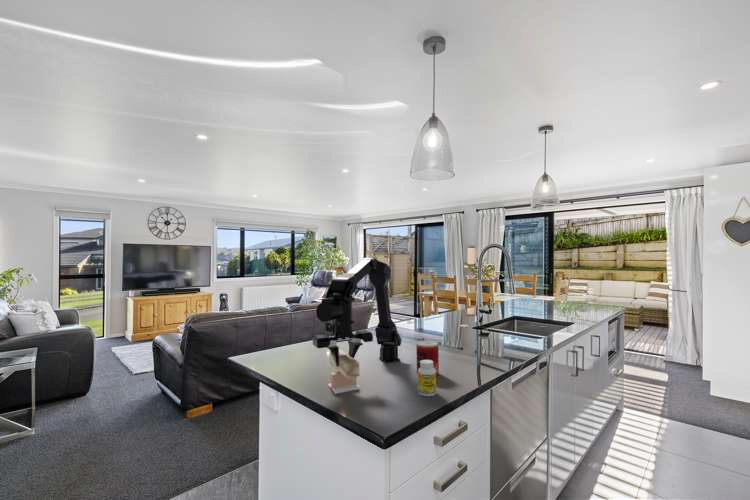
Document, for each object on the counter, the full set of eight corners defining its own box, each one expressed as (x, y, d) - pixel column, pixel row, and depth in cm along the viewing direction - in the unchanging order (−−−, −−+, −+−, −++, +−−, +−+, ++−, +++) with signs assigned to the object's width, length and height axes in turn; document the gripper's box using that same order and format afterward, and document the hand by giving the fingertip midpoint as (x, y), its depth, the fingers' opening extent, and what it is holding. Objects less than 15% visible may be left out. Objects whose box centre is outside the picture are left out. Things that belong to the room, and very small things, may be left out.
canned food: (440, 371, 122) (439, 340, 122) (436, 379, 114) (436, 346, 115) (419, 369, 124) (418, 339, 125) (414, 376, 117) (414, 344, 117)
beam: (340, 361, 116) (340, 349, 116) (359, 375, 101) (359, 362, 101) (329, 363, 114) (329, 351, 114) (347, 378, 100) (346, 364, 100)
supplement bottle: (432, 389, 106) (431, 358, 106) (439, 395, 100) (438, 363, 101) (415, 390, 104) (415, 359, 105) (422, 397, 99) (421, 364, 99)
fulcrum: (351, 381, 112) (351, 366, 113) (359, 389, 106) (359, 373, 106) (328, 386, 109) (328, 370, 109) (335, 393, 103) (335, 377, 103)
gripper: (359, 310, 119) (360, 355, 119) (308, 315, 111) (308, 363, 111) (373, 315, 109) (374, 363, 109) (317, 320, 101) (318, 373, 101)
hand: (343, 365), depth 108 cm, fingers closed on beam, 4 cm apart
